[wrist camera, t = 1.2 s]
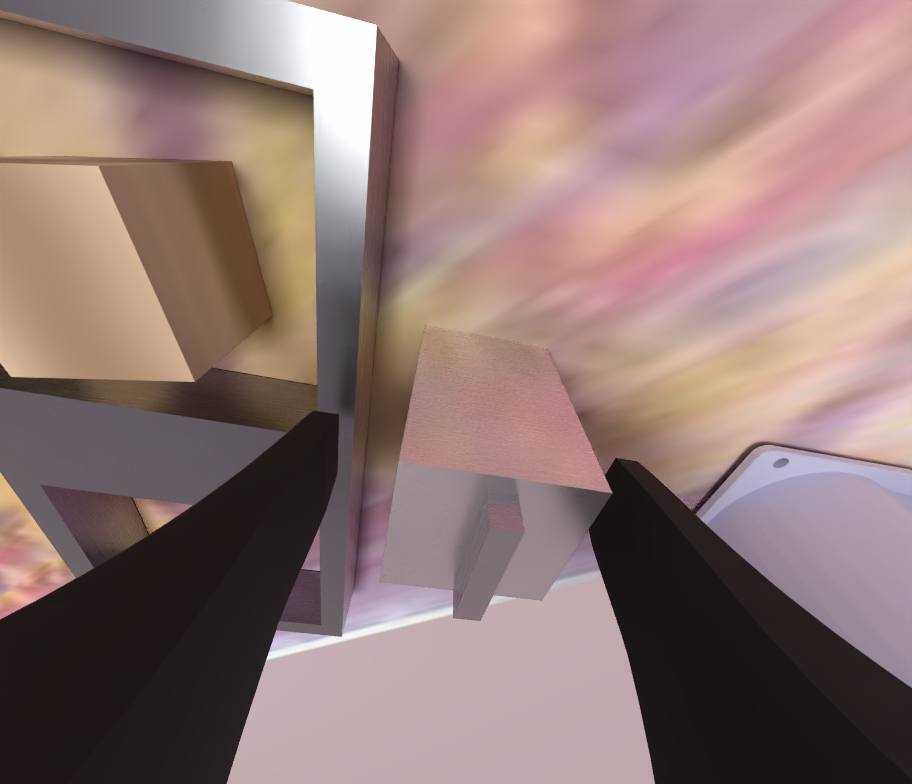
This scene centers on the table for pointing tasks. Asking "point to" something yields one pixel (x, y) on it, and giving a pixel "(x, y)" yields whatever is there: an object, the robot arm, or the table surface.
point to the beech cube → (124, 268)
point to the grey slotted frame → (218, 391)
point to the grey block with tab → (489, 474)
